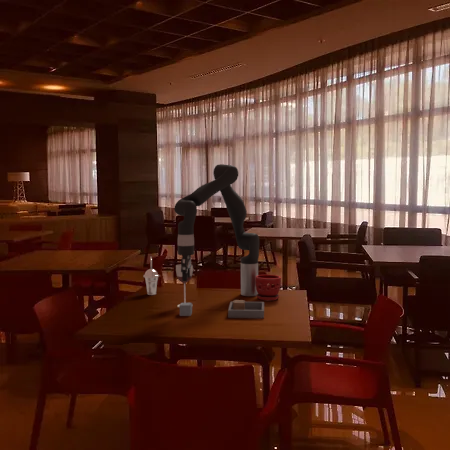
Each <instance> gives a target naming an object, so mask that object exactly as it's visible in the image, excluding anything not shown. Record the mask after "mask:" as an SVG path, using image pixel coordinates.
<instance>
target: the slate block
mask: <svg viewBox="0 0 450 450" xmlns="http://www.w3.org/2000/svg"><path fill="white" fill-rule="evenodd" d="M192 305H193V302H186V303H184V302H180V307H179V316H180V317H191V316H192V314H193V306H192Z"/></svg>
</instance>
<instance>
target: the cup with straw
mask: <svg viewBox="0 0 450 450" xmlns="http://www.w3.org/2000/svg"><path fill="white" fill-rule="evenodd" d="M149 258H150V268H149V269H147V270H146V271H145V273H144V274H143V278H144V279H145V284H146V293H147V295H149V296H155V295H157V285H158V280H159V277H160V274H158V273H159V272H158V271H157V270H156V269H154V268H153V257H152V256H150V257H149Z"/></svg>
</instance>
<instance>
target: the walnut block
mask: <svg viewBox="0 0 450 450" xmlns="http://www.w3.org/2000/svg"><path fill="white" fill-rule="evenodd" d="M232 302H233V310H245V302H246V300H245V299H244V300H243V299H240V300H239V299H233V301H232Z"/></svg>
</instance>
